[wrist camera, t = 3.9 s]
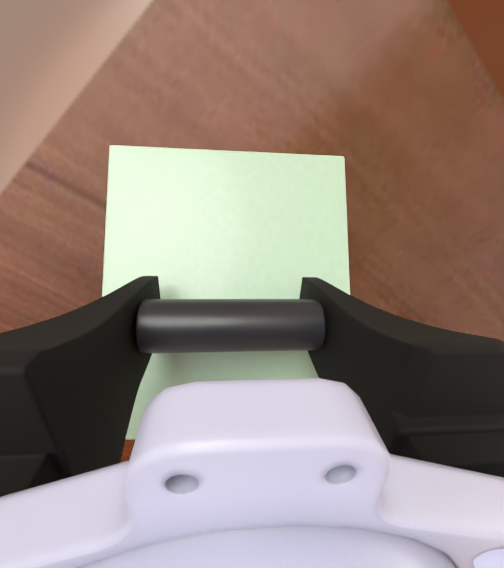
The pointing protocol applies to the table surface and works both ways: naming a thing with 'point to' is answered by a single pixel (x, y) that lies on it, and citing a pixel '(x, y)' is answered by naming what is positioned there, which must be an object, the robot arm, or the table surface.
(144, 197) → the lid
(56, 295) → the table surface
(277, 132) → the table surface
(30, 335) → the robot arm
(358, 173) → the table surface
